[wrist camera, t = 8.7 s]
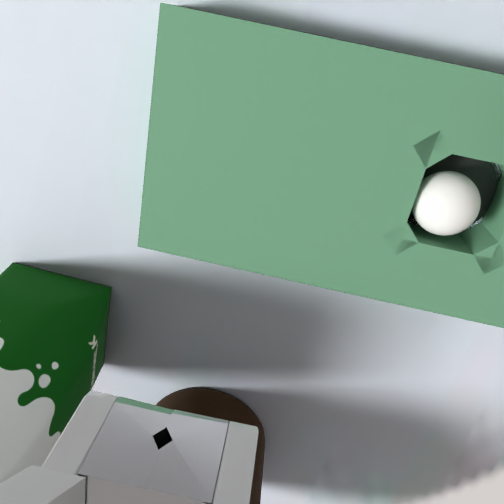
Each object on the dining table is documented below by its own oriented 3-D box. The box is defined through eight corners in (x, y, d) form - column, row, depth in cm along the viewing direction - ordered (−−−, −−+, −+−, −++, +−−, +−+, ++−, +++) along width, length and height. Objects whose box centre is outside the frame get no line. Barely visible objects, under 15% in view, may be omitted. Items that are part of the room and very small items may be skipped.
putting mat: (152, 227, 31) (137, 246, 28) (176, 5, 26) (160, 2, 23) (489, 302, 31) (506, 328, 28) (589, 92, 25) (622, 99, 22)
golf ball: (457, 165, 28) (410, 160, 26) (506, 185, 25) (455, 180, 23) (436, 221, 29) (390, 219, 28) (480, 247, 26) (430, 245, 25)
